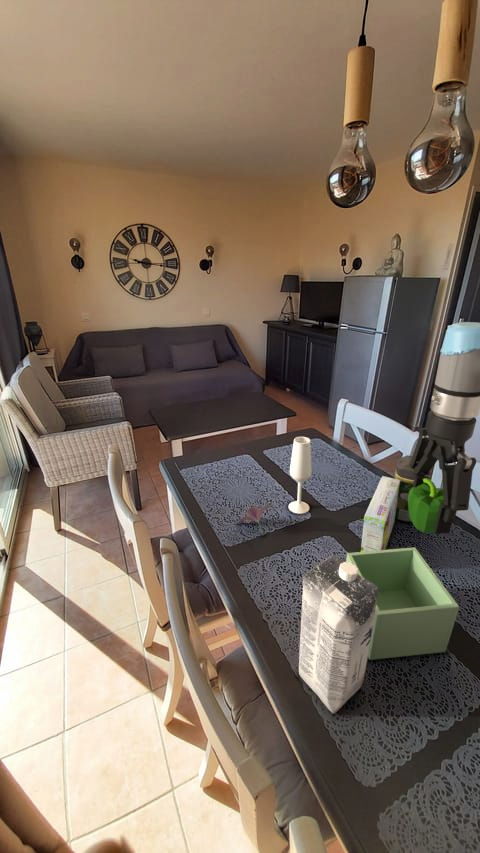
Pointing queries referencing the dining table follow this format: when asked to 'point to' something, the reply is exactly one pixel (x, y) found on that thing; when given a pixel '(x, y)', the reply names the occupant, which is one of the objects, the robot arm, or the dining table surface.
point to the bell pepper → (425, 505)
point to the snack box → (380, 515)
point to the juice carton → (335, 630)
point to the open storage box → (406, 604)
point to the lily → (254, 514)
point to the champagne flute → (300, 470)
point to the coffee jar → (404, 487)
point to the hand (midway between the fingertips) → (428, 516)
